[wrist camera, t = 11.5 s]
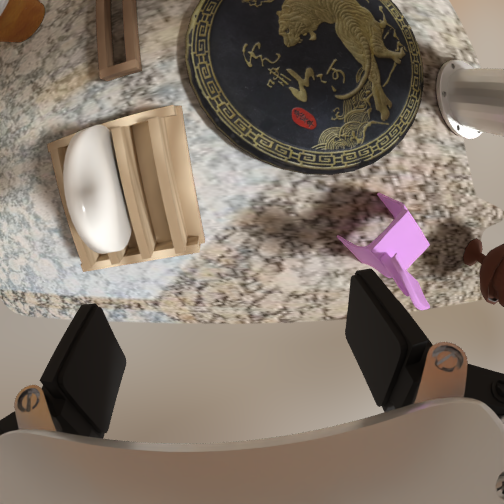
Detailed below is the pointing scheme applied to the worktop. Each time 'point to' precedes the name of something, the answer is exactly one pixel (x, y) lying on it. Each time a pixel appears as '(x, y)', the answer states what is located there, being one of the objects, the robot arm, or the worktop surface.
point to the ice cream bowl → (488, 270)
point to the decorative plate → (306, 79)
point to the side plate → (96, 191)
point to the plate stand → (106, 46)
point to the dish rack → (146, 189)
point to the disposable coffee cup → (19, 19)
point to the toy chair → (396, 250)
